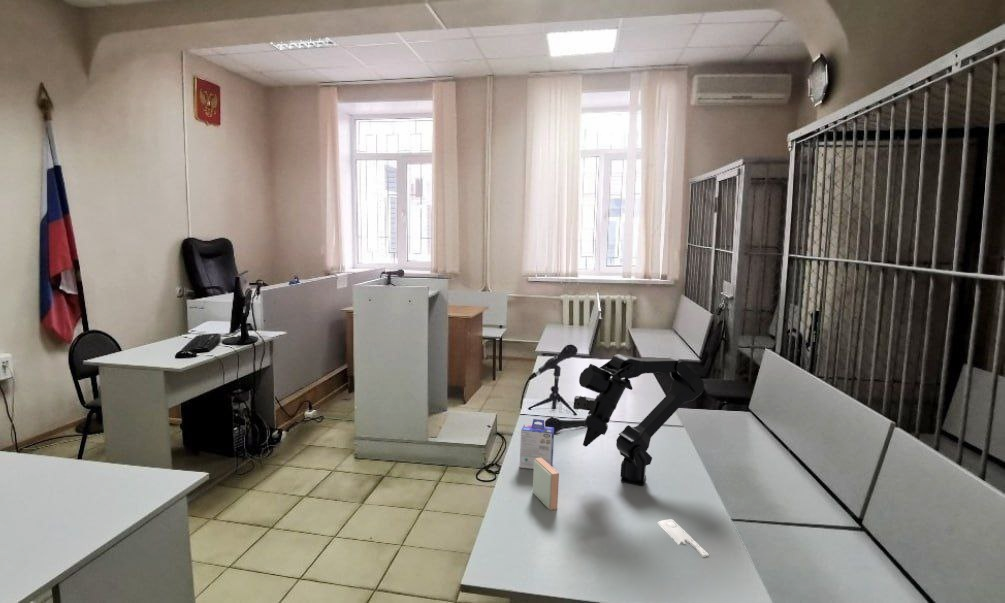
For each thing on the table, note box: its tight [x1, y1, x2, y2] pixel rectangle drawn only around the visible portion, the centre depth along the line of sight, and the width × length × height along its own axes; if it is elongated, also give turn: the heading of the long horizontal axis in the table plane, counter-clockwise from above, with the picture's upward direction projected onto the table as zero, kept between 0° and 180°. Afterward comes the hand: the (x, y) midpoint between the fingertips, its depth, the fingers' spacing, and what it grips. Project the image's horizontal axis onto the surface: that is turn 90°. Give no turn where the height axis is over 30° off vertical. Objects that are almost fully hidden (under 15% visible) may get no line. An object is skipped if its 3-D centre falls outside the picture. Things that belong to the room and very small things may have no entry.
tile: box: [532, 457, 560, 511], centre depth 142 cm, size 2×10×10 cm, turn 23°
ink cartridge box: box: [518, 418, 555, 470], centre depth 162 cm, size 10×6×14 cm, turn 78°
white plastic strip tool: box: [657, 518, 710, 558], centre depth 127 cm, size 5×15×1 cm, turn 14°
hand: (584, 445), depth 150 cm, fingers closed
